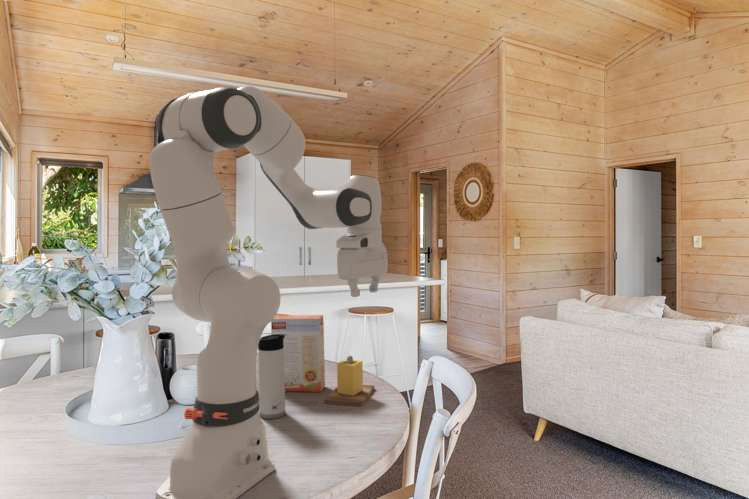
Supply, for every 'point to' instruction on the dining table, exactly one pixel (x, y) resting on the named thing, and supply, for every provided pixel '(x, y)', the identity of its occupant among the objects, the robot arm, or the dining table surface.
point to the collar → (349, 377)
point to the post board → (350, 399)
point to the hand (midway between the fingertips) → (364, 294)
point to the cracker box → (302, 351)
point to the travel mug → (271, 376)
